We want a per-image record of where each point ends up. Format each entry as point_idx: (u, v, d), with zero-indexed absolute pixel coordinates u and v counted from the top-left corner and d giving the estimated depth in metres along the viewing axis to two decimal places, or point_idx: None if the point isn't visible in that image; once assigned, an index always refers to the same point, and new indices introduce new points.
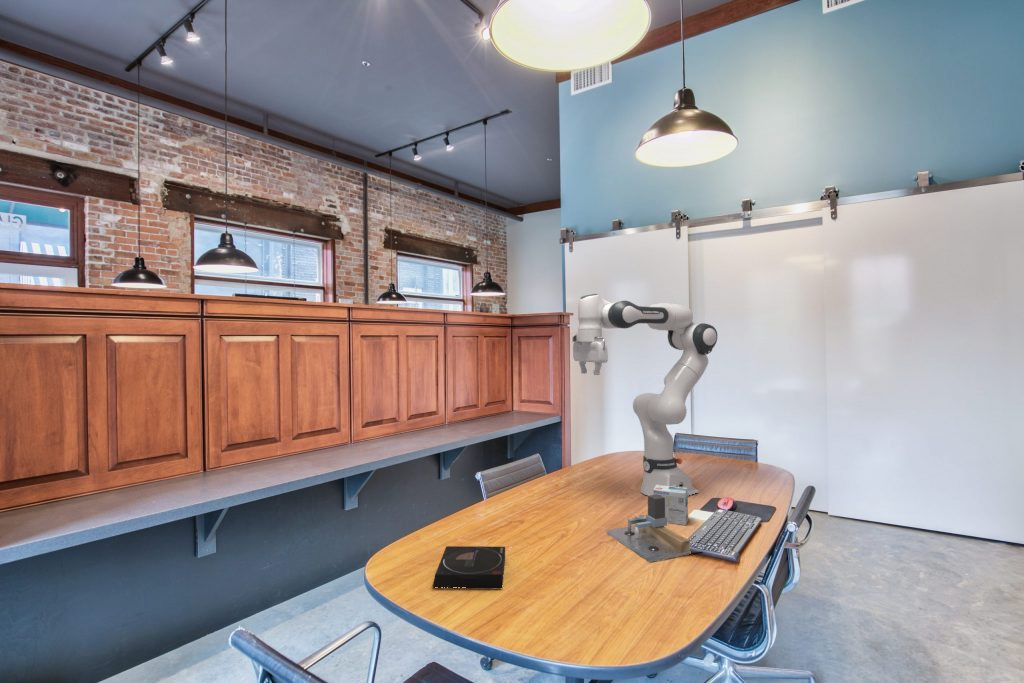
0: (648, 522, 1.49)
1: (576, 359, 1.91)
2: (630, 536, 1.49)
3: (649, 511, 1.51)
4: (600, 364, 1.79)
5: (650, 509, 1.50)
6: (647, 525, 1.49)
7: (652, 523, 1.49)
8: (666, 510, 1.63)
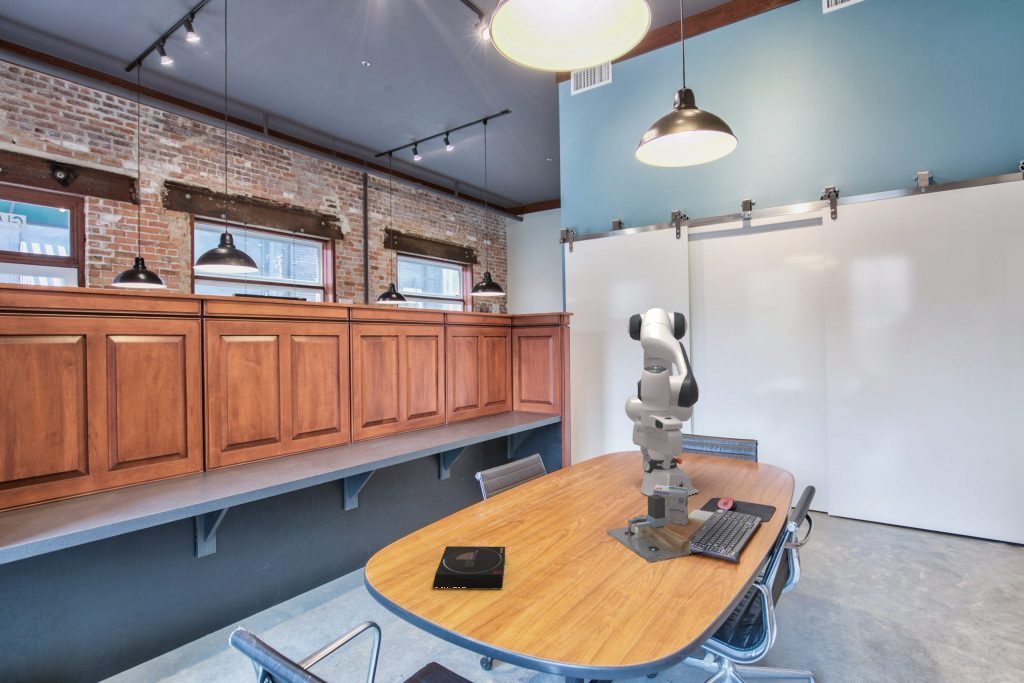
0: (648, 522, 1.49)
1: None
2: (630, 536, 1.49)
3: (649, 511, 1.51)
4: None
5: (650, 509, 1.50)
6: (647, 525, 1.49)
7: (652, 523, 1.49)
8: (666, 510, 1.63)
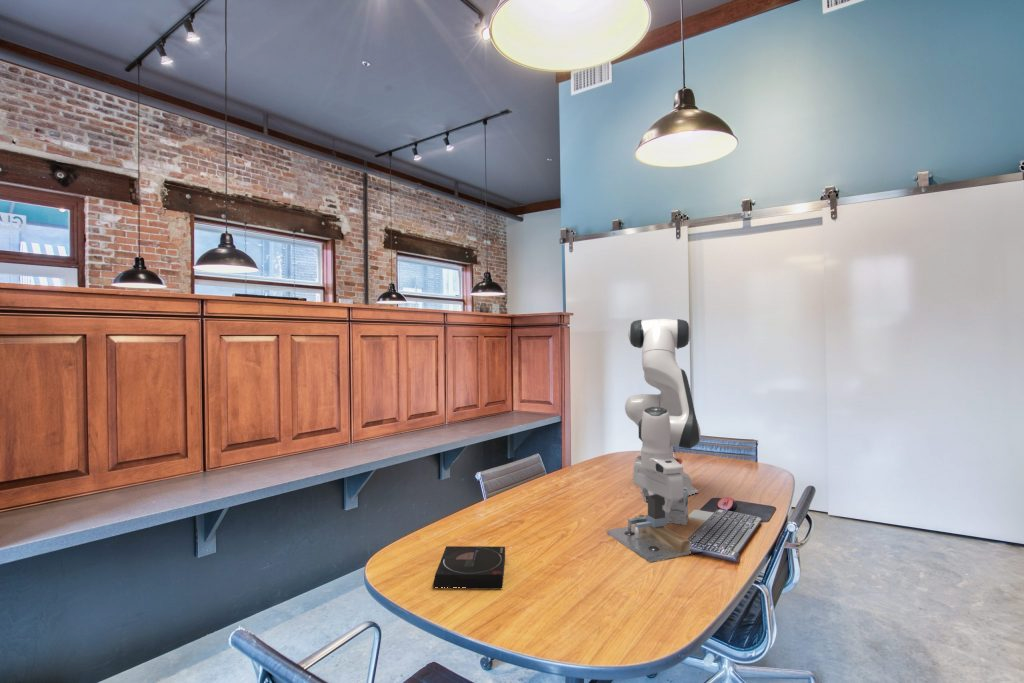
0: (648, 522, 1.49)
1: None
2: (630, 536, 1.49)
3: (649, 511, 1.51)
4: None
5: (650, 509, 1.50)
6: (647, 525, 1.49)
7: (652, 523, 1.49)
8: None
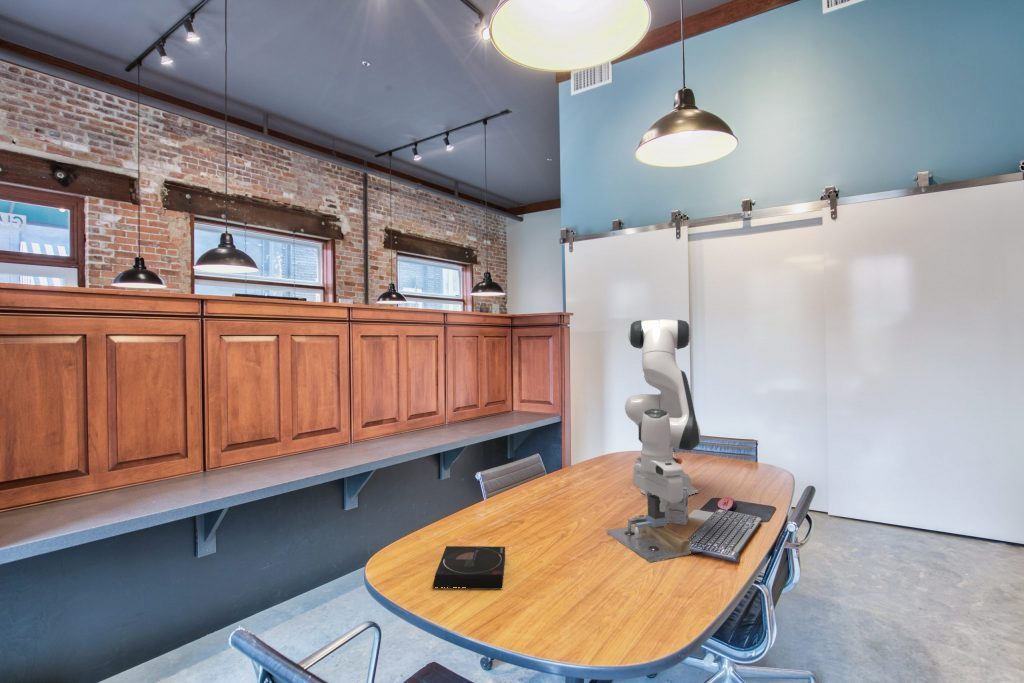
0: (648, 522, 1.49)
1: None
2: (630, 536, 1.49)
3: (649, 511, 1.51)
4: None
5: (650, 509, 1.50)
6: (647, 525, 1.49)
7: (652, 523, 1.49)
8: (666, 510, 1.63)
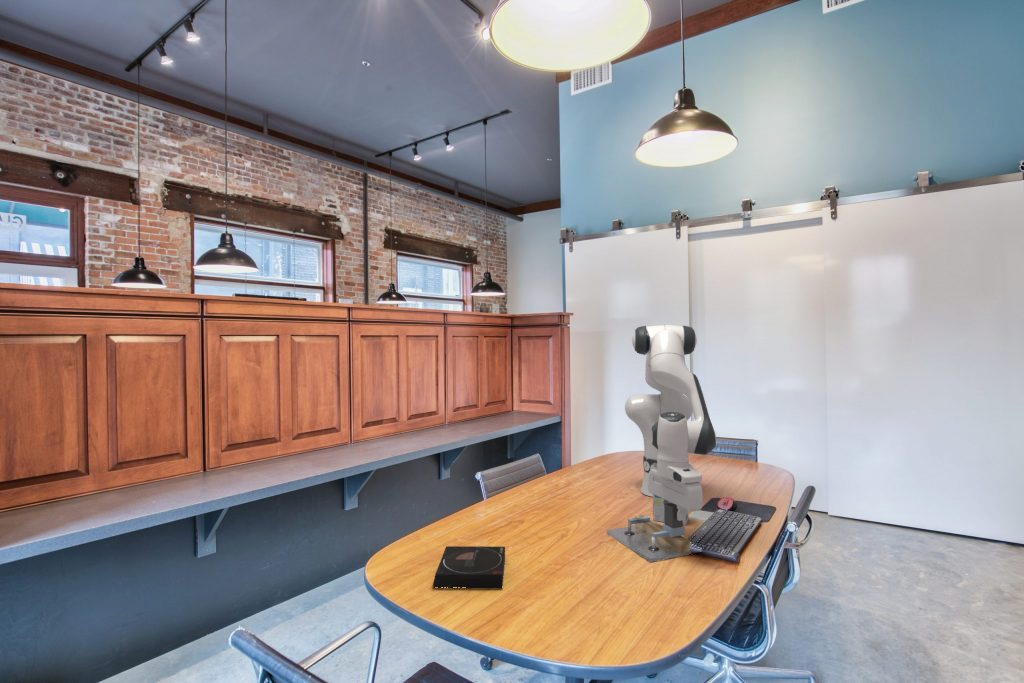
0: (665, 531, 1.42)
1: None
2: (630, 536, 1.49)
3: (666, 519, 1.43)
4: None
5: (667, 518, 1.43)
6: (664, 535, 1.41)
7: (669, 533, 1.41)
8: None
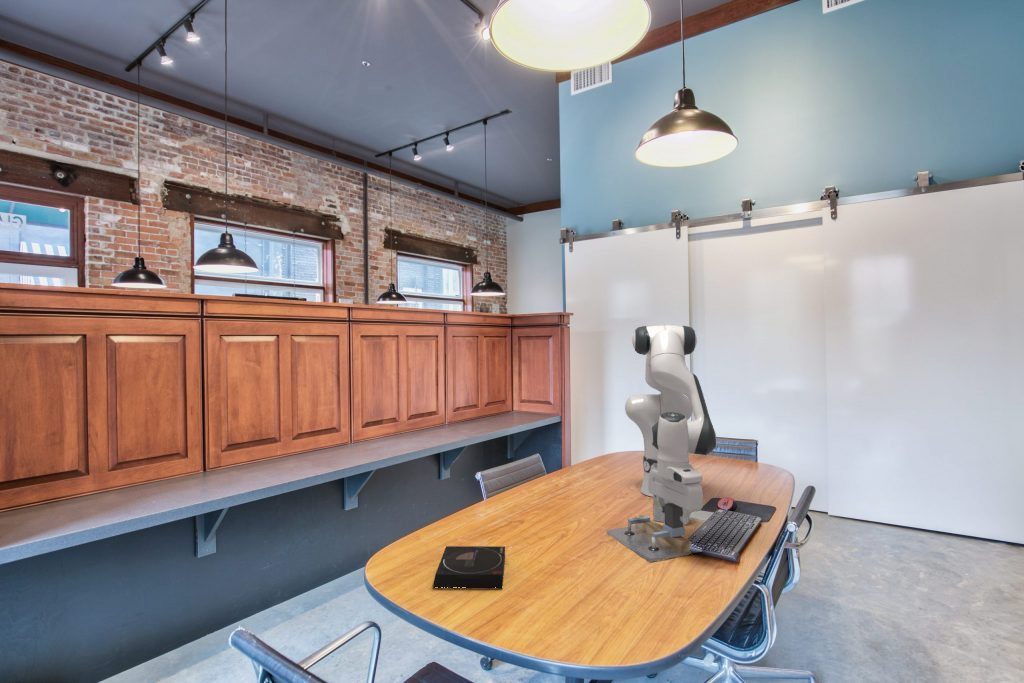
0: (665, 532, 1.42)
1: None
2: (630, 536, 1.49)
3: (666, 520, 1.43)
4: None
5: (667, 518, 1.43)
6: (664, 535, 1.41)
7: (669, 533, 1.41)
8: None
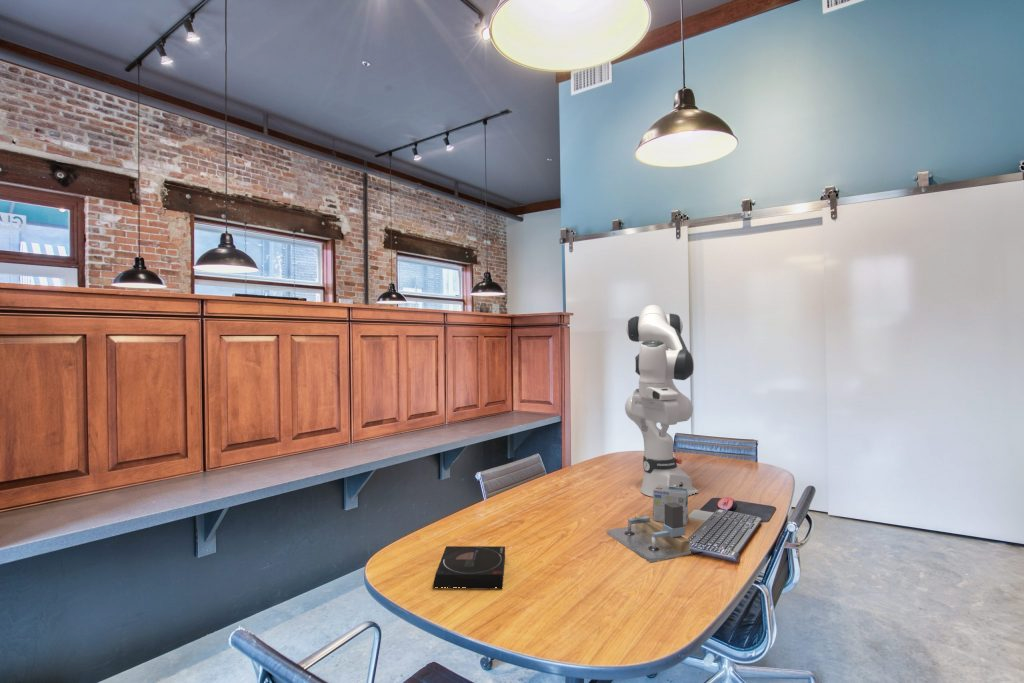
0: (665, 532, 1.42)
1: None
2: (630, 536, 1.49)
3: (666, 520, 1.43)
4: None
5: (667, 518, 1.43)
6: (664, 535, 1.41)
7: (669, 533, 1.41)
8: None
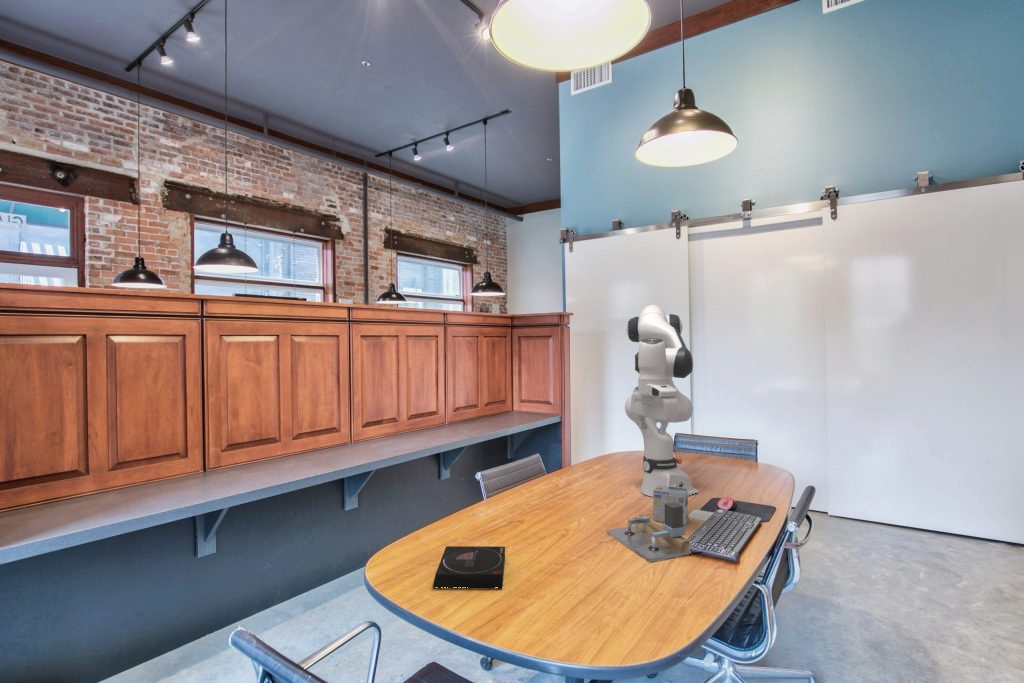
0: (665, 532, 1.42)
1: None
2: (630, 536, 1.49)
3: (666, 520, 1.43)
4: None
5: (667, 518, 1.43)
6: (664, 535, 1.41)
7: (669, 533, 1.41)
8: None
